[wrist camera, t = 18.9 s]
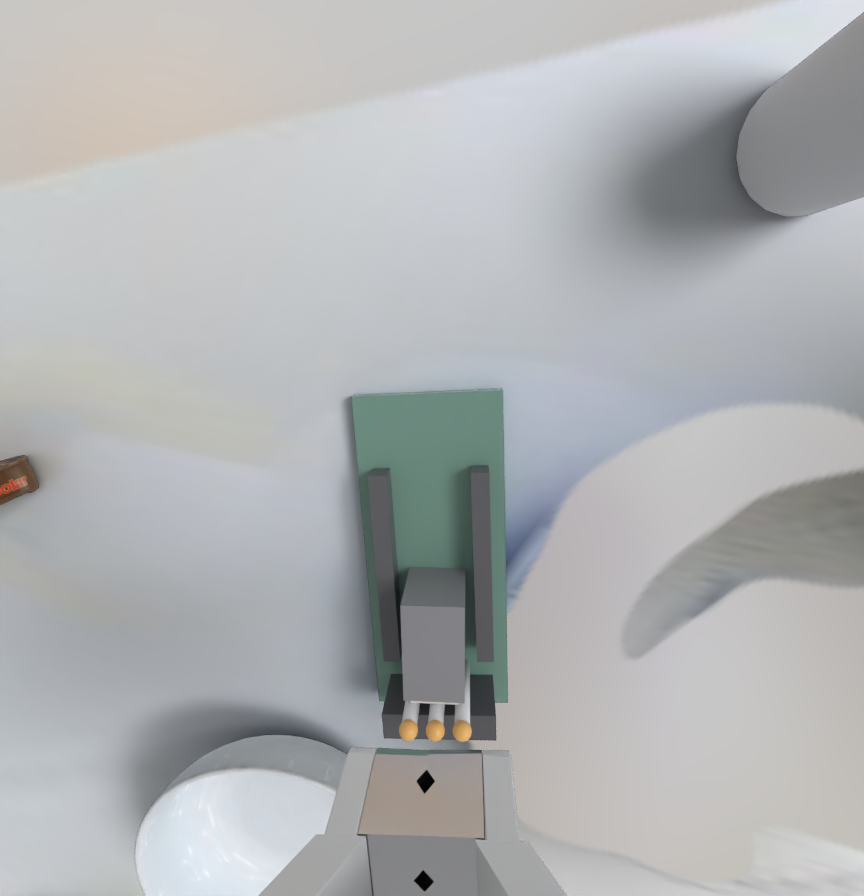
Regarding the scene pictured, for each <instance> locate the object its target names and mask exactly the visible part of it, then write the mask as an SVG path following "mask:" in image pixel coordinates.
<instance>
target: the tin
mask: <svg viewBox="0 0 864 896" xmlns="http://www.w3.org/2000/svg"><path fill="white" fill-rule="evenodd" d="M38 487H39V483H38V481H37V478H36V476H35V475H34V473H33V471H32V469H31V467H30V465H29V464H28V462H27V456H25V455H22V456H17V457H14V458H9V459H5V460H2V461H0V505H1V504H3V503H6V502H8V501H10V500H12V499H14V498H16V497H19V496H21V495H23V494H25V493H30V492H34V491H35V490H37V489H38Z"/></svg>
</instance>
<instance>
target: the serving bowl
mask: <svg viewBox="0 0 864 896" xmlns="http://www.w3.org/2000/svg"><path fill="white" fill-rule="evenodd" d="M346 757H347V754H345V753H343V752H342V751H340V750H338V749H336V748H334V747H332V746H329V745H327V744H324V743H321V742H318V741H315V740H312V739H308V738H304V737H297V736H290V735H263V736H255V737H250V738H245V739H241V740H238V741H234V742H231V743H229V744H226V745H224V746H221V747H219V748H217V749H215V750H213V751H211V752H209V753H208V754H206V755H204V756H203V757H201V758H200V759H198V760H197V761H195V762H194V763H192V764H191V765H190V766H189V767H188V768H186V769H185V770H184V771H183V772H182V773H180V774H179V775H178V776H177V777H176V778H175V779H174V780H173V781H172V782H171V783H170V784H169V786H168V787H167V788H166V789H165V790H164V791H163V792H162V793H161V795H160V796H159V797H158V798H157V799H156V800H155V802H154V803H153V804H152V805H151V807H150V808H149V810H148V811H147V813H146V814H145V816H144V818H143V820H142V822H141V825H140V828H139V830H138V834H137V838H136V843H135V866H136V872H137V876H138V879H139V883H140V886H141V888H142V891H143V893H144V895H145V896H258V895H259V894H260V893H261V892H262V891H263V890H264V889H265V888H266V887H267V886H268V885H269V884H270V883H271V882H272V880H273V879H274V878H275V877H276V876H277V875H278V874H279V873H280V872H281V871H282V870H283V869H284V868H285V867H286V866H287V865H288V864H289V862H290V861H291V860H292V859H293V858H294V857H295V856H296V855H297V854H298V853H299V852H300V851H301V850H302V849H303V848H304V847H305V845H306V844H307V843H308V842H309V841H310V840H311V839H312V838H313V837H314V836H315V835H316V834H325V830H326V827H327V823H328V820H329V816H330V813H331V809H332V806H333V802H334V799H335V795H336V792H337V788H338V785H339V781H340V778H341V774H342V771H343V767H344V764H345V760H346Z"/></svg>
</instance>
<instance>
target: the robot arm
mask: <svg viewBox="0 0 864 896" xmlns="http://www.w3.org/2000/svg"><path fill="white" fill-rule="evenodd" d="M482 763H483V766H482ZM483 792H484V796H483ZM258 896H567V895H566V893H565V892H564V891H563V889H562V888H561V886H560V885H559V884H558V882H557V881H556V879H555V878H554V876H553V875H552V874H551V872H550V871H549V869H548V868H547V867H546V865H545V864H544V862H543V861H542V860H541V858H540V857H539V855H538V854H537V853H536V851H535V850H534V848H533V847H532V846H531V844H530V843H529V842H525V841H520V837H519V827H518V817H517V807H516V798H515V789H514V779H513V769H512V758H511V754H510V752H509V751H508V750H506V751H505V750H483V752H482V750H411V749H390V748H358V747H352V748H351V749H350V751H349V753H348V754H347V757H346V760H345V764H344V767H343V771H342V774H341V778H340V781H339V785H338V788H337V792H336V795H335V799H334V802H333V806H332V809H331V813H330V816H329V820H328V823H327V827H326V830H325V834H316V835H315V836H314V837H313V838H312V839H311V840H310V841H309V842H308V843H307V844H306V845H305V847H304V848H303V849H302V850H301V851H300V852H299V853H298V854H297V855H296V856H295V857H294V858H293V859H292V860H291V861H290V862H289V864H288V865H287V866H286V867H285V868H284V869H283V870H282V871H281V872H280V873H279V874H278V875H277V876H276V877H275V878H274V879H273V880H272V882H271V883H270V884H269V885H268V886H267V887H266V888H265V889H264V890H263V891H262V892H261V893H260V894H259V895H258Z"/></svg>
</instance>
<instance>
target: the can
mask: <svg viewBox="0 0 864 896" xmlns="http://www.w3.org/2000/svg"><path fill="white" fill-rule="evenodd" d="M736 159H737V165H738V171H739V177H740V180H741V182H742V184H743V186H744V187H745V189H746V191H747V193H748V195H749V196H750V198H752V199H753V200H754V201H755V202H756V203H758V204H759V205H760V206H761V207H762V208H764V209H765V210H767V211H770V212H773V213H776V214H779V215H782V216H807V215H810V214H813V213H816V212H819V211H822V210H825V209H828V208H831V207H834V206H837V205H841V204H844V203H847V202H850V201H853V200H856V199H859V198H862V197H864V12H863V13H862V14H861V15H859V16H858V17H857V18H856V19H854V20H853V21H852V22H851V23H849V24H848V25H847V26H846V27H844V28H843V29H842V30H841V31H839V32H838V33H837V34H836V35H834V36H833V37H832V38H831V39H829V40H828V41H827V42H826V43H824V44H823V45H822V46H821V47H819V48H818V49H817V50H816V51H814V52H813V53H812V54H811V55H809V56H808V57H807V58H806V59H804V60H803V61H802V62H801V63H799V64H798V65H797V66H796V67H794V68H793V69H792V70H791V71H789V72H788V73H787V74H786V75H784V76H783V77H782V78H781V79H779V80H778V81H777V82H776V83H774V84H773V85H772V86H771V87H769V88H768V89H767V90H765V92H764V93H763V94H762V95H761V97H760V98H759V99H758V101H757V102H756V103H755V104H754V106H753V107H752V108H751V109H750V111H749V113H748V115H747V117H746V120H745V122H744V124H743V127H742V129H741V131H740V134H739V140H738V148H737V155H736Z"/></svg>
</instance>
